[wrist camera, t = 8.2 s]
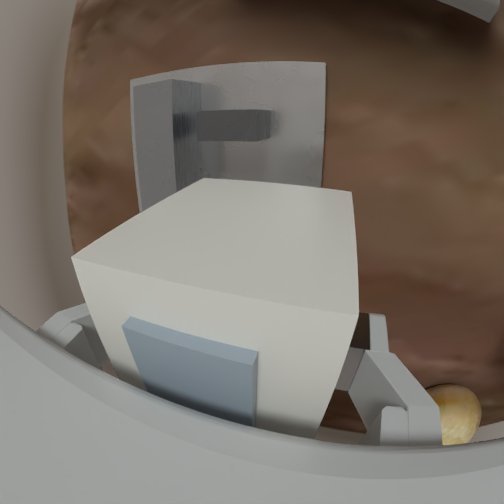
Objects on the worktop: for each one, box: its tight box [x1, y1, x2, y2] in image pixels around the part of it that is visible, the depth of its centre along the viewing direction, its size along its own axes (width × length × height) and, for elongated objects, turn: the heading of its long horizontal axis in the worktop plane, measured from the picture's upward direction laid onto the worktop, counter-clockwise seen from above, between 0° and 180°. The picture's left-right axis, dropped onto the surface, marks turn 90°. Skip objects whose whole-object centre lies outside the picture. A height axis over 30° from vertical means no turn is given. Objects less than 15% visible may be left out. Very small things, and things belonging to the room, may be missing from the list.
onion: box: [426, 384, 481, 445], centre depth 17 cm, size 8×8×7 cm
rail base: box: [130, 61, 327, 213], centre depth 16 cm, size 12×18×4 cm, turn 0°
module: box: [71, 178, 359, 439], centre depth 8 cm, size 5×7×6 cm
